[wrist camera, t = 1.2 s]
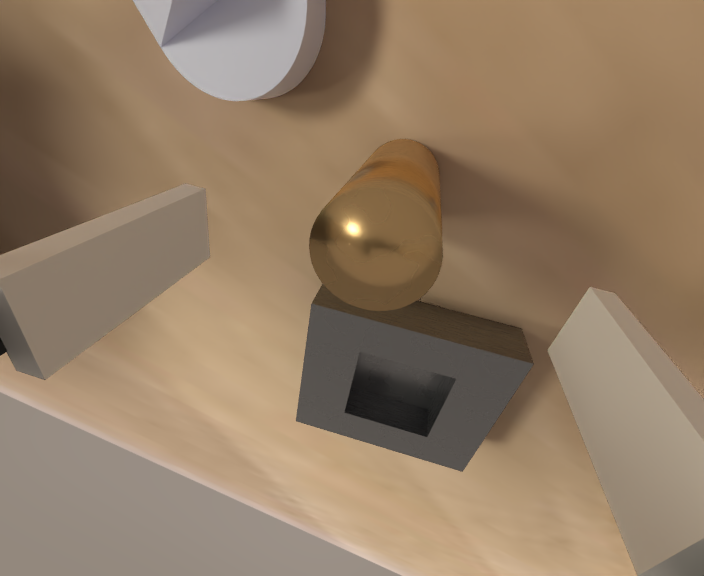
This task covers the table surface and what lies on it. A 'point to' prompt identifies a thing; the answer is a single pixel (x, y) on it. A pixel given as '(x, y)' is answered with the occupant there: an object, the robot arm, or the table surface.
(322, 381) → the jig block
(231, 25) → the wedge on round base
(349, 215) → the golden brown cylinder
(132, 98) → the table surface
